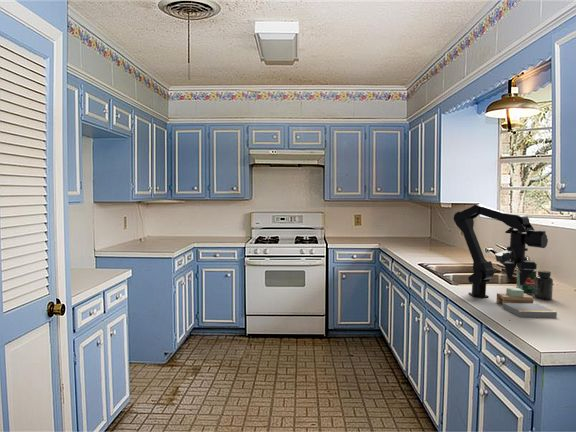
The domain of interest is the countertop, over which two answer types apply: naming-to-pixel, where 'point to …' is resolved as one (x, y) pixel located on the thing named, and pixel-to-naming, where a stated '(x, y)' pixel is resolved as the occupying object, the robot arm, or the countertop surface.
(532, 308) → the dock
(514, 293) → the pale green block
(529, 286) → the canned tomato
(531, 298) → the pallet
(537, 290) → the supplement bottle
